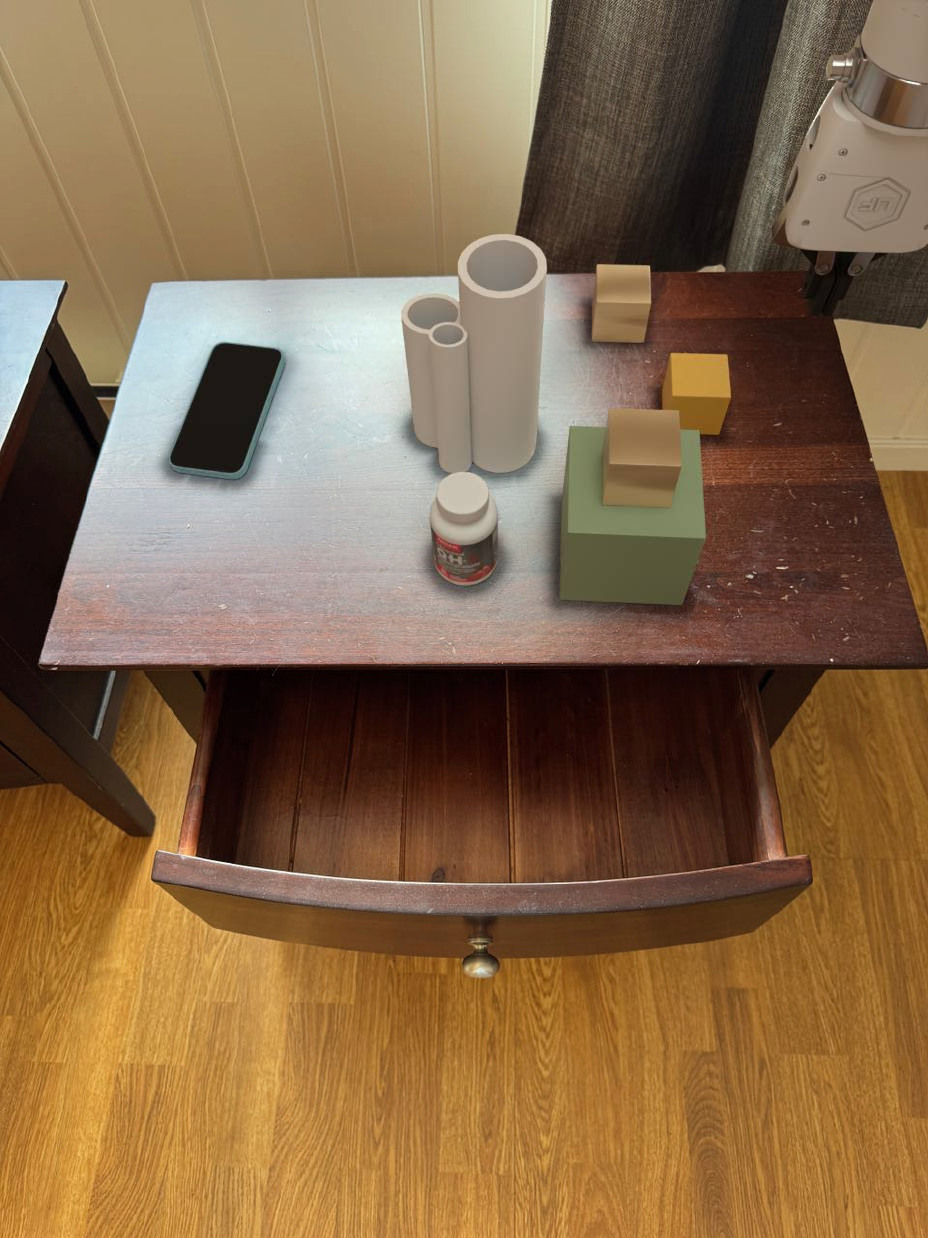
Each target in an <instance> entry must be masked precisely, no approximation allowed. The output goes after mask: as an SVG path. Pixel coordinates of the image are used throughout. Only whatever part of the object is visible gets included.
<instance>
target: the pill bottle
mask: <svg viewBox="0 0 928 1238" xmlns="http://www.w3.org/2000/svg"><path fill="white" fill-rule="evenodd" d="M429 525H430V526H429V527H430V533H431V534H430V535H431V536H430V537H431V545H432V553H433V554H432V555H433V561H434V565H435V569H436V570H437V572H438V573H439V575H440V576H441V577H442V578H443V579H444V580H446V581H447V582H449V583H451V584H453V585H458V586H473V585H477V584H479V583H482V582H483V581H485V580H487V579H488V578H490V576H491V575H492V574H493V573H494V571H495V569H496V566H497V564H498V555H499V553H498V552H499V551H498V547H499V541H498V540H499V509H498V506H497V503H496V501H495V499H494V498H493V496H492V495H491V494H490V491H489V486H488V484H487V483H486V481H485V480H484V479H483V478H482V477H481V476H479V475H478V474H475V473H473V472H469V471H465V472H457V473H453V474H452V473H449V474H448V475H447V476H445V477H444V478H443V479H442V480H441V481H440V482H439V484H438V486H437V489H436V497H435V498H434V500H433V501H432V504H431V506H430V509H429Z"/></svg>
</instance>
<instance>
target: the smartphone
mask: <svg viewBox="0 0 928 1238" xmlns="http://www.w3.org/2000/svg"><path fill="white" fill-rule="evenodd" d="M285 363H286V360H285V355H284V353H283V351H282V349H280V348H278V347H273V346H272V347H271V346H264V345H258V344H257V345H256V344H250V343H249V344H248V343H241V342H240V343H238V342H229V341H221V342H217V343H216V344H214V346H213V347H212V348H211V350H210V351H209V354H208V356H207V359H206V362H205V364H204V367H203V369H202V372H201V375H200V377H199V379H198V382H197V384H196V387H195V389H194V392H193V395H192V397H191V399H190V402H189V404H188V407H187V409H186V412H185V415H184V417H183V419H182V422H181V425H180V427H179V430H178V432H177V434H176V436H175V439H174V442H173V444H172V446H171V449H170V452H169V455H168V463H169V466H170V467H171V469H172V470H173V471H175V472H177V473H182V474H189V475H194V476H195V475H197V476H203V477H210V478H219V479H228V480H238V479H241V478H242V477H243V476H244V475H245V474H246V473H247V471H248V468H249V466H250V463H251V460H252V457H253V455H254V452H255V448H256V445H257V444H258V440H259V438H260V435H261V433H262V432H261V431H262V429H263V426H264V423H265V420H266V417H267V414H268V412H269V409H270V406H271V403H272V400H273V397H274V395H275V393H276V390H277V386H278V383H279V380H280V378H281V375H282V372H283V370H284V366H285Z"/></svg>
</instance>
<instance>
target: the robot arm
mask: <svg viewBox="0 0 928 1238" xmlns="http://www.w3.org/2000/svg"><path fill="white" fill-rule="evenodd" d="M825 78H826V80H827V81H831V80H832V81H835V82H834V84H833V86H832V88H831V89H830V90H829V92H828V93H827V96H826V97H825V99H824V101H823V102H822V104H821V106H820V107H819V109H818V111H817V113H816V115H815V117H814V119H813V121H812V123H811V124H810V126H809V129H808V131H807V133H806V135H805V137H804V140H803V142H802V144H801V147H800V148H799V151H798V154H797V156H796V157H795V161H794V163H793V165H792V168H791V171H790V174H789V176H788V180H787V181H786V185H785V189H784V192H783V197H782V206H783V209H782V210H781V211H780V213H779V215H778V216H777V218H776V219H775V221H774V222H773V224H772V226H771V236H772V242H773V244H775V245H778V246H781V247H782V246H783V247H787V248H790V249H793V250H794V249H799V251H800V252H801V253H802V254H803V255H804V256H805V258H806V259H807V260H808V261H809V262H810V264H809V267H808V270H807V272H806V275H805V277H804V280H803V282H802V286H801V287H802V288H801V293H802V294H801V295H802V299H803V300H807V303H808V310H809V311H808V312H809V316H811V317H818V316H819V315H823V316H824V317H833V315H834V312H835V310H836V308H837V305H838V303H839V301H844V300H845V298H846V296H847V293H848V291H849V290H850V287H851V284H852V283H853V280H854V277H857V276H861V274H863V273H864V271H865V270H866V269H867V267H868V265H870V264H871V263H874V262H875V261H876V260H879V259H880V258H882V257H884V256H886V255H888V254H904V253H911V252H916V251H918V250H921V249H923V248H924V247H925V246H927V245H928V0H872V3H871V6H870V9H869V11H868V14H867V17H866V21H865V23H864V26H863V29H862V31H861V34H857V35H856V39H855V42H854V44H853V46H852V47H851V49H850V50H849V52H843V53H842V54H831V55H830V56H829V58H828V61H827V65H826V71H825Z"/></svg>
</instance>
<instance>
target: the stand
mask: <svg viewBox="0 0 928 1238" xmlns="http://www.w3.org/2000/svg"><path fill="white" fill-rule="evenodd" d="M568 429H569V430H568V439H567V447H566V457H565V468H564V477H563V478H564V479H563V487H562V495H561V516H560V517H561V521H560V522H561V523H560V553H559V554H560V558H559V559H560V560H559V595H558V596H559V600H560V601H578V602H598V603H600V602H601V603H618V604H619V603H622V604H623V603H624V604H644V605H645V604H646V605H662V606H663V605H664V606H665V605H666V606H667V605H668V606H683V604H684V601H685V598H686V595H687V593H688V590H689V587H690V584H691V581H692V579H693V575H694V573H695V570H696V568H697V565H698V562H699V559H700V556H701V553H702V551H703V549H704V545H705V543H706V540H707V530H706V516H705V515H706V513H705V499H704V483H703V468H702V467H703V466H702V450H701V434H700V433H699V430H680V438H681V458H682V467H681V471H680V475H679V478H678V482H677V485H676V489H675V492H674V496H673V499H672V503H671V506H670V508H661V507H635V506H610V505H602V449H603V443H604V437H605V430H606V426H589V425H588V426H584V425H570V426H569V428H568Z"/></svg>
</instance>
